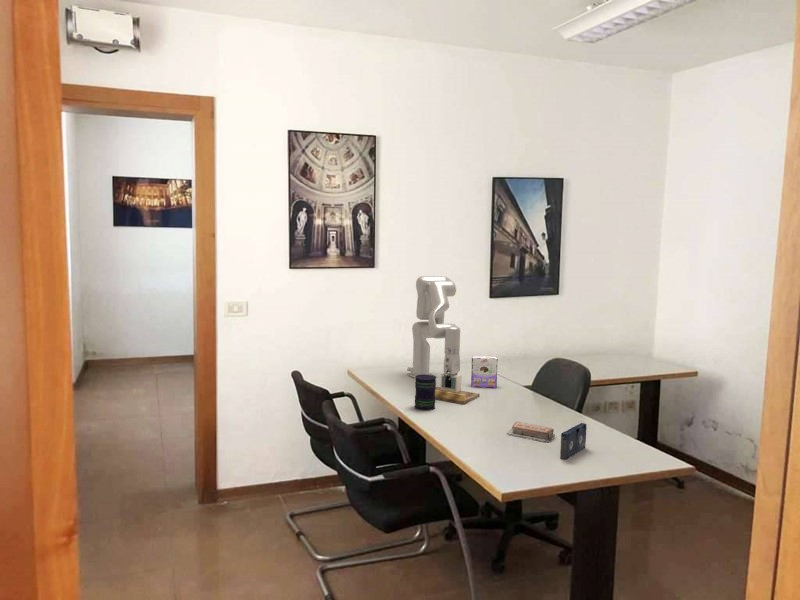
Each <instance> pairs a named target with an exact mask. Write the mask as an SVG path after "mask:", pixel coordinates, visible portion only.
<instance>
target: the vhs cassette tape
mask: <svg viewBox="0 0 800 600" xmlns="http://www.w3.org/2000/svg"><path fill="white" fill-rule="evenodd" d="M587 427H588V426H587V423H584V422H580V423H578V424H577V425H574V426H573V427H570V428H569V429H567V430H565V431H563V432H561V434H560V454H559V458H560V459H561V460H566V461H567V460H568V459H570V458H571V457H573V456H575V455H576V454H578V453H580V452H581V451H583V450H584V449H586V442H587V429H588V428H587Z"/></svg>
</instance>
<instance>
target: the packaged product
mask: <svg viewBox="0 0 800 600" xmlns="http://www.w3.org/2000/svg"><path fill="white" fill-rule="evenodd" d="M554 430H555V429H554V428H552V427H547V426H543V425H538V424H534V423H533V424H532V423H528V422H523V421H515V422H514V423H513V425H512V427H511V429H510V430H508V431H507V432H506V435H507V434H509V435H508V436H511V435H514V436H513V437H517V436H518V437H517V438H521V437H523V438H522V439H526V438H528V439H527V440H530V439H532V440H531V441H536V440H537V442H541V443H546V442H547V444H548V443H549V442H551V441H552V440H553V439H554V438H555V437H556V435H555V433H554ZM552 438H553V439H552ZM551 439H552V440H551ZM550 440H551V441H550Z"/></svg>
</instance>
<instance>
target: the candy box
mask: <svg viewBox="0 0 800 600" xmlns="http://www.w3.org/2000/svg"><path fill="white" fill-rule="evenodd" d="M470 380H471V381H470V388H482V387H488V388H490V389H497V386H498V384H497V383H498V357H497V356H488V355H471V374H470Z"/></svg>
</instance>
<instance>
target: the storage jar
mask: <svg viewBox="0 0 800 600" xmlns="http://www.w3.org/2000/svg"><path fill="white" fill-rule="evenodd" d="M414 384H415V385H414V387H415V396H414V408H415V409H416V410H418V411H427V412H428V411H433V410H435V409H436V399H435V389H436V387H437V376H436V375H426V374H423V375H417V376H416V378H415V382H414Z"/></svg>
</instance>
